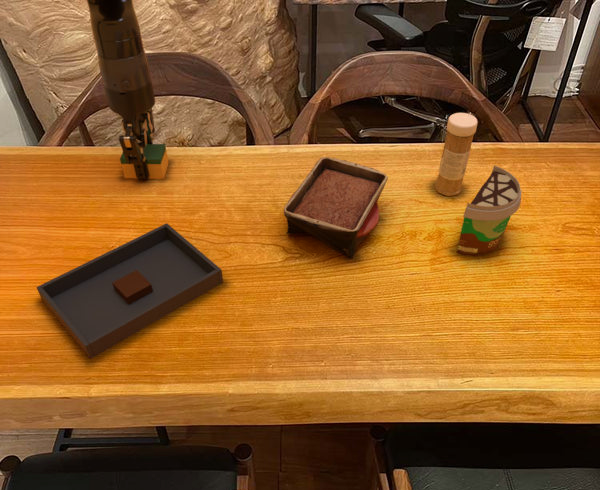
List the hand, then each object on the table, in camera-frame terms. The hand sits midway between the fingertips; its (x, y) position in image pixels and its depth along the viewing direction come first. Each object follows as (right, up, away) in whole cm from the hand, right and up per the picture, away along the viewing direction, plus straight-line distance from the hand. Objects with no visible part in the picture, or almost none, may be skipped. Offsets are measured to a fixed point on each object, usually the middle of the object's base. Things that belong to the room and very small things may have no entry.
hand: (146, 168), depth 106 cm
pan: (+4, -23, -22) cm, 32 cm away
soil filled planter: (+33, -12, -11) cm, 37 cm away
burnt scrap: (+4, -22, -22) cm, 32 cm away
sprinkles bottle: (+54, -5, -4) cm, 54 cm away
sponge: (0, 0, 0) cm, 0 cm away
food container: (+57, -15, -14) cm, 60 cm away
